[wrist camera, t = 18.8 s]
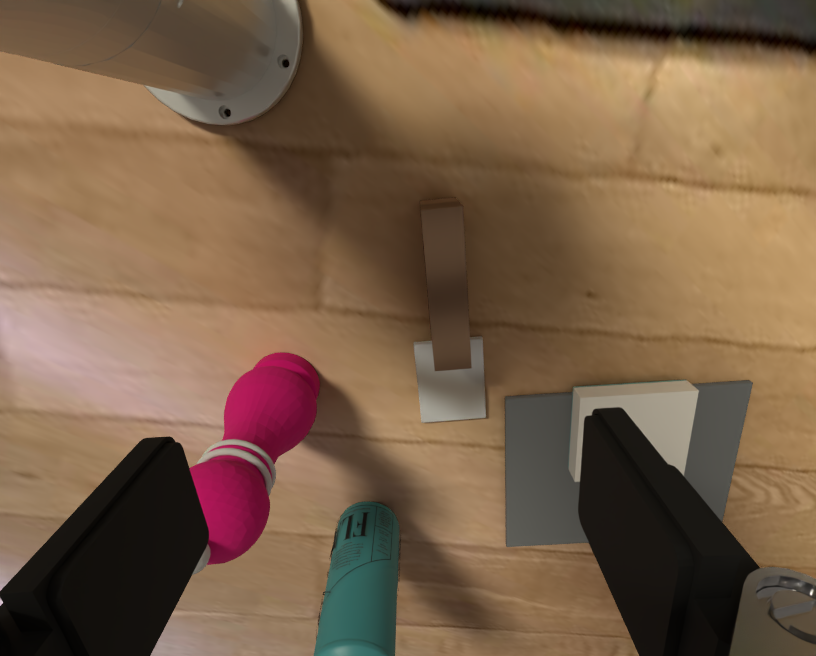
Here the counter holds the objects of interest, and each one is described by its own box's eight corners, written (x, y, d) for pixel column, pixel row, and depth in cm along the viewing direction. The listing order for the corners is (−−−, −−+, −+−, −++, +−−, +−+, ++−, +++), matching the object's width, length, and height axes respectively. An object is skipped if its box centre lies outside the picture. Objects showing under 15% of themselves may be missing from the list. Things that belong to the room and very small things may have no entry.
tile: (580, 397, 39) (574, 481, 42) (698, 390, 39) (683, 475, 42) (572, 386, 41) (567, 467, 44) (685, 379, 41) (672, 461, 44)
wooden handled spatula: (399, 202, 36) (396, 212, 30) (475, 195, 36) (487, 203, 30) (421, 419, 43) (422, 459, 37) (484, 414, 43) (495, 453, 37)
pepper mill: (341, 381, 42) (284, 569, 23) (292, 429, 44) (202, 638, 25) (279, 331, 40) (162, 490, 21) (230, 383, 42) (85, 570, 23)
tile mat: (504, 396, 42) (506, 399, 42) (748, 380, 41) (752, 382, 41) (505, 543, 49) (506, 546, 48) (716, 531, 48) (719, 535, 47)
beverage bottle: (374, 478, 46) (347, 705, 27) (414, 518, 48) (416, 756, 29) (326, 509, 47) (269, 744, 29) (367, 547, 49) (339, 791, 30)
